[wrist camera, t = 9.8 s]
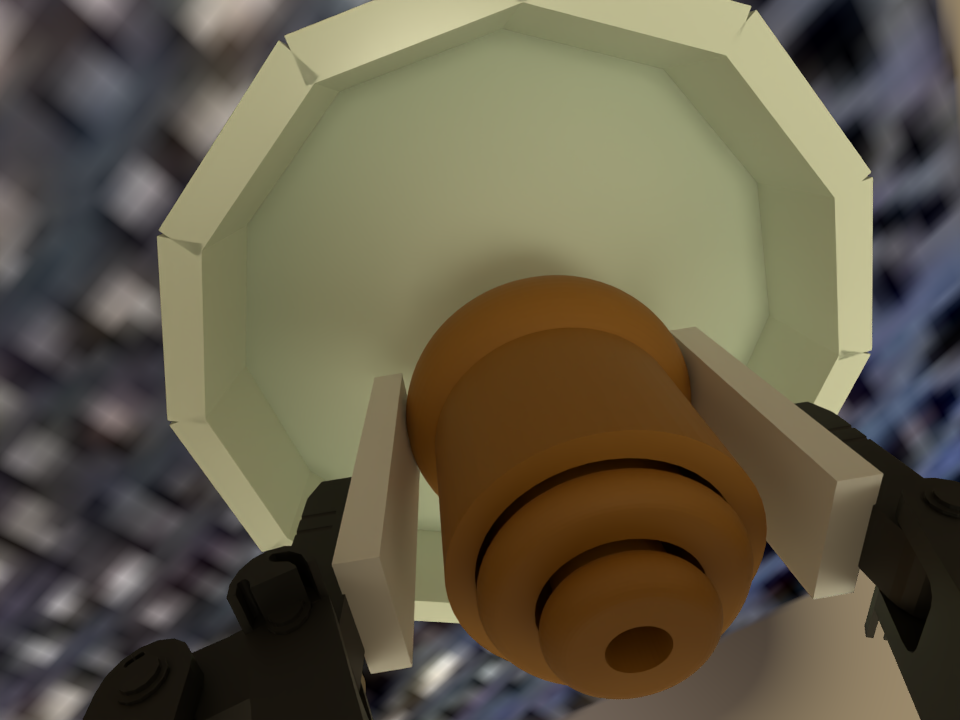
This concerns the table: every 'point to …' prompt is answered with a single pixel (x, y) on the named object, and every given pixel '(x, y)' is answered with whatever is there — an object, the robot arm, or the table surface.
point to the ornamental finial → (581, 488)
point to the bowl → (496, 220)
